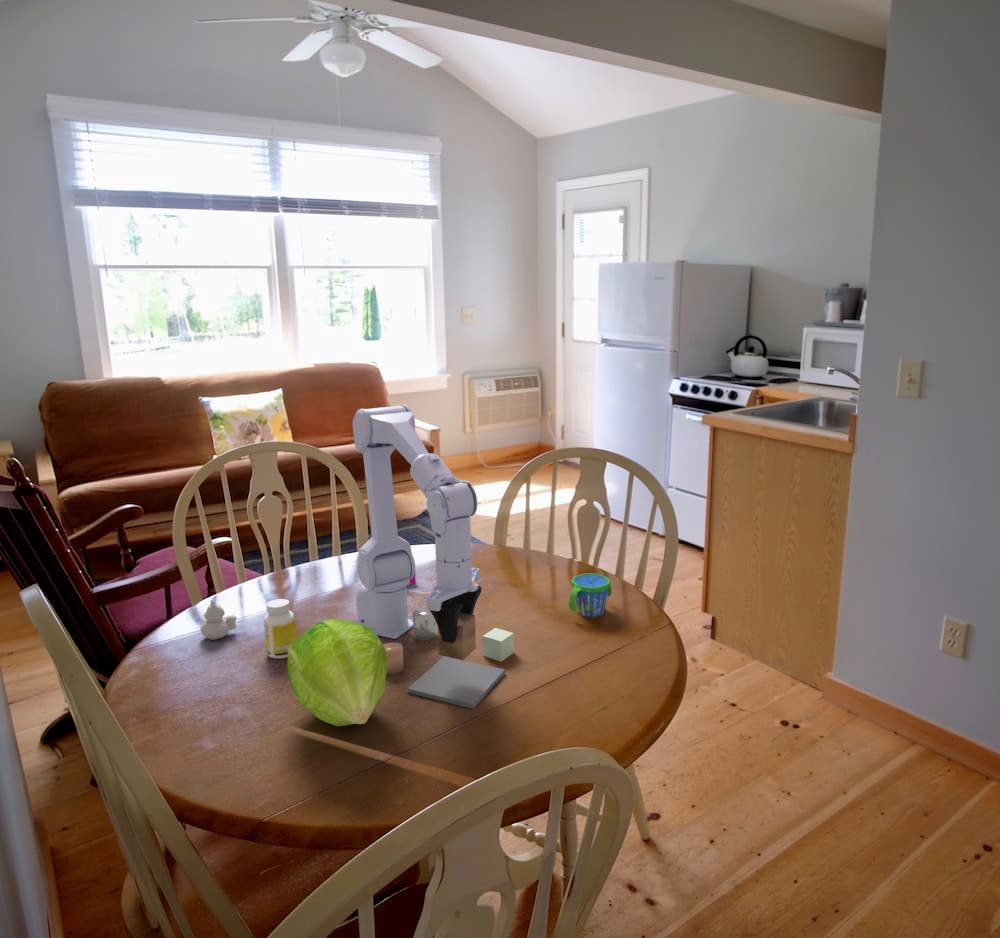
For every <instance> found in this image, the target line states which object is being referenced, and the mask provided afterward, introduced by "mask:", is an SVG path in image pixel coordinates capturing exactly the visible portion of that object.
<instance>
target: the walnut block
mask: <svg viewBox="0 0 1000 938" xmlns="http://www.w3.org/2000/svg"><path fill="white" fill-rule="evenodd" d="M437 628H438V627H437ZM437 633H438V634H437V635H438V641H437V642H438V656H442V657H449V658H454V659H458V660H463V661H465V659H466V658H467V657H468V656H469V655H471V653H472V652H473V651H475V650H476V646H477V645H476V615H474V614H473V615H471V614H466V613H461V612H460V614H459V618H458V623H457V635H456V640H455V642H454V643H449V642H444V641H442V638H441V635H440V631H439V628H438V629H437Z"/></svg>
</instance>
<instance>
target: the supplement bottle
mask: <svg viewBox="0 0 1000 938" xmlns="http://www.w3.org/2000/svg"><path fill="white" fill-rule="evenodd" d="M266 603H267V604H266V612H267V614H266V615H265V616H264V617H263V623H264V625H263V626H264V634H265V645H266V647H265V648H266V654H267V656H268V657H269V658H271V659H275V660H277V659H285V658H288V649H289V647H290V646H291V645H292V644H293V643H294V642H295V641H296V640H297V639H298V638H297V627H296V617H295V616H296V615H295V614H294V612H292V611H291V610H290V609H291V605H290V600H288V599H286V598H277V599H271V600H270V601H268V602H266Z"/></svg>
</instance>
